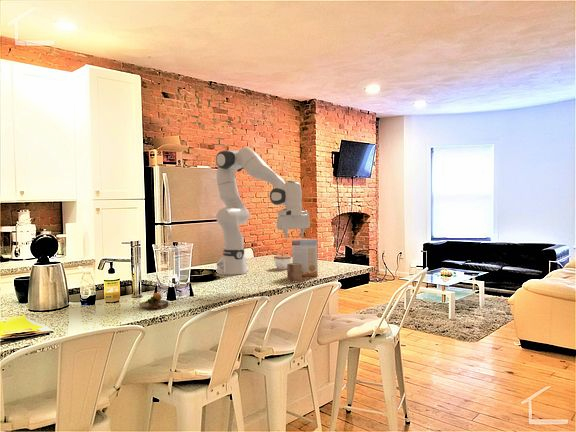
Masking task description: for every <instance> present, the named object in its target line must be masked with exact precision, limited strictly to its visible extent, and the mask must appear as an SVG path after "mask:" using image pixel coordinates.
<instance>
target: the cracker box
mask: <svg viewBox="0 0 576 432" xmlns="http://www.w3.org/2000/svg"><path fill="white" fill-rule="evenodd" d="M291 243H292V249H291V251H292V255H291V262H292V263H298V264H302V277H318V275H319V274H318V271H319V270H318V264H319V263H318V238H293V239H292V240H291Z"/></svg>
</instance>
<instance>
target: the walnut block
mask: <svg viewBox="0 0 576 432" xmlns="http://www.w3.org/2000/svg"><path fill="white" fill-rule="evenodd" d="M286 270H287V273H286V274H287V278H286V279H287V280H290V281H289V282H291V281H294V282H293V283H296V282H295V281H299V282H302V281H303V279H302V278H303V276H302V264H298V263H293V262H291V263H290V264H287V269H286ZM301 280H302V281H301Z"/></svg>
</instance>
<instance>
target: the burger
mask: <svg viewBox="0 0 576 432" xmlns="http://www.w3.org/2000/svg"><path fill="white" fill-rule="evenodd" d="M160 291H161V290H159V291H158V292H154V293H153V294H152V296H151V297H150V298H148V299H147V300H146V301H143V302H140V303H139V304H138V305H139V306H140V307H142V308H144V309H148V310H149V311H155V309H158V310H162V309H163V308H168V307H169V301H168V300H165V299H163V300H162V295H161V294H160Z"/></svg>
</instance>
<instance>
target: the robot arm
mask: <svg viewBox="0 0 576 432" xmlns="http://www.w3.org/2000/svg"><path fill="white" fill-rule="evenodd" d="M215 163H216V165H217V167H218V168H217V169H216V182H217V188H218V193H219V199H221V201H222V202H223V203H224V204H225V207H223V208H220V209H219V210H218V211H217V213H216V216H215V217H216V218H215V219H216V222H217V223H218V224H219V225H220V227H221V230H222V232H223V238H224V239H223V241H224V249H223V250H222V256H221V258H220V259H218V261H217V262H216V268H215V269H213V270H216V272H217V274H218V275H221V276H223V275H225V276H226V275H231V276H233V275H234V276H235V275H243V274H246V273H247V272H249V268H247V258H246V257H245V248H244V235H243V234H242V232H241V230H240V227H239V225H244V224H246V223H247V222H248V221H249V220H250V216H251V215H250V210H248V208H247V207H246V206H245V205H244V203H243V200H242V198H241V196H240V193H239V189H238V184H237V179H236V173H237V172H241V171H242V170H244V171H245V172H246V173H247V175H248V176H251V178H253V179H256V180H260V181H265V182H266V183H268V184H270V185H272V187H273V188H272V189H271V191H270V192H269V200H270V202H271V203H272V204H273V205H275V206H284V208H282V209H280V210H278V211H277V218H276V229H277V230H279V231H282V232H283V234H284V238H285V239H290V234H288V231H289V230H297V229H298V230H300V233H298V237H299V238H304V233H305V230H306V229H310V227H311V219H310V212H309V211H307V210H303V204H302V203H303V202H302V200H303V191H302V189H303V188H302V185H301V183H300V182H299V181H296V180H295V181H294V180H287V181H286V182H285V180H283V178H282V177H280V175H278V174H277V172H275V171H274V169H272V168H271V167H270V166H269V165H268V164H267V163H266V162H265V161H264V160H263V159H262V158H261V157H260V156H259V155H258V154H257V152H255V151H254V150H253V149H252V148H250V147H249V146H246V147H242V148H240V149H239V150H238V149H237V150H236V149H235V150H234V149H233V150H231V149H230V150H221V151H219V152H217V154H216V157H215ZM216 272H215V273H216Z"/></svg>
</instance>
